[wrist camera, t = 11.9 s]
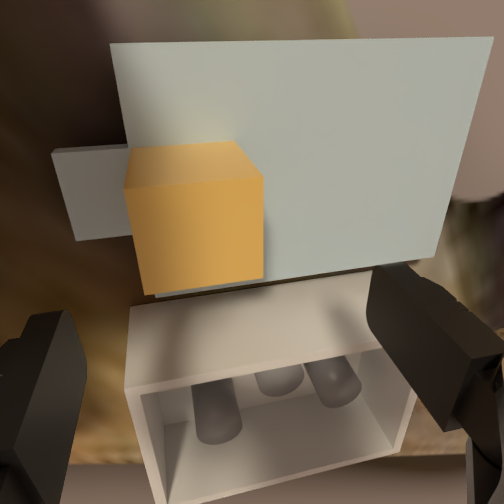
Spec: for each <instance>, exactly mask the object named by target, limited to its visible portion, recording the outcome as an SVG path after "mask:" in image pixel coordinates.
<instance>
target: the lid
mask: <svg viewBox="0 0 504 504" xmlns="http://www.w3.org/2000/svg"><path fill="white" fill-rule="evenodd" d="M493 40H494V37H440V38H439V37H438V38H381V39H325V40H269V41H213V42H157V43H110V49H111V55H112V61H113V66H114V72H115V77H116V83H117V88H118V94H119V99H120V105H121V110H122V116H123V121H124V127H125V132H126V138H127V144H116V145H101V146H87V147H72V148H58V149H54V151H53V152H52V153H51V156H52V160H53V163H54V167H55V170H56V174H57V177H58V181H59V184H60V187H61V191H62V194H63V198H64V201H65V205H66V208H67V212H68V215H69V219H70V222H71V226H72V229H73V233H74V236H75V240H76V241H83V240H92V239H100V238H109V237H118V236H126V235H133V240H134V245H135V250H136V255H137V260H138V265H139V270H140V275H141V280H142V285H143V290H144V295H151V294H155V298H159V297H166V296H173V295H180V294H186V293H193V292H200V291H207V290H213V289H220V288H227V287H234V286H240V285H247V284H254V283H261V282H267V281H274V280H281V279H288V278H294V277H301V276H308V275H315V274H321V273H328V272H335V271H342V270H348V269H355V268H362V267H369V266H375V265H382V264H389V263H396V262H402V261H409V260H416V259H423V258H429V257H434V255H435V252H436V248H437V244H438V241H439V237H440V233H441V230H442V226H443V222H444V219H445V215H446V211H447V208H448V204H449V201H450V197H451V193H452V189H453V186H454V182H455V179H456V175H457V171H458V167H459V164H460V160H461V157H462V153H463V149H464V146H465V142H466V139H467V135H468V131H469V128H470V124H471V120H472V117H473V113H474V109H475V106H476V102H477V98H478V94H479V91H480V87H481V84H482V80H483V76H484V73H485V69H486V66H487V62H488V58H489V54H490V51H491V47H492V44H493Z"/></svg>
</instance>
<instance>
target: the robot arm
mask: <svg viewBox="0 0 504 504" xmlns="http://www.w3.org/2000/svg"><path fill="white" fill-rule="evenodd" d="M366 319H367V323H368V326H369V328H370V330H371V332H372V333H373V335H374V336H375V338H376V339H377V340H378V342H379V343H380V344H381V346H382V347H383V349H384V350H385V351H386V353H387V354H388V356H389V357H390V358H391V360H392V361H393V363H394V364H395V365H396V367H397V368H398V369H399V371H400V372H401V374H402V375H403V376H404V378H405V379H406V381H407V382H408V383H409V385H410V386H411V387H412V389H413V390H414V392H415V393H416V394H417V396H418V397H419V399H420V400H421V401H422V403H423V404H424V406H425V407H426V408H427V410H428V411H429V412H430V414H431V415H432V417H433V418H434V419H435V421H436V422H437V424H438V425H439V426H440V428H441V429H442V431H443V432H447V431H452V430H456V429H460V428H463V429H464V430H465V431H466V432H467V434H468V435H469V437H468V439H467V442H466V468H467V504H504V340H503V339H502V338H500V337H499V336H498V335H497V334H496V333H495V332H494V331H492V330H491V329H490V328H489V327H488V326H487V325H486V324H484V323H483V322H482V321H481V320H480V319H479V318H478V317H476V316H475V315H474V314H473V313H472V312H469V311H468V309H467V308H466V307H465V306H464V305H463V304H462V303H461V302H457V300H456V298H455V297H454V296H453V295H451V294H450V293H449V292H448V291H447V290H446V289H445V288H443V287H442V286H440V285H438V284H436V283H434V282H432V281H430V280H428V279H426V278H424V277H420V276H419V275H418V274H417V273H416V272H415V271H413V270H412V269H411V268H410V267H409V266H408V265H407V264H405V263H403V262H400V263H393V264H386V265H379V266H376V267H375V268H374V269H373V271H372V275H371V281H370V287H369V293H368V299H367V305H366ZM86 379H87V363H86V357H85V354H84V351H83V348H82V345H81V342H80V339H79V336H78V334H77V331H76V328H75V325H74V322H73V319H72V316H71V314H70V312H69V311H68V310H60V311H53V312H46V313H39V314H33V315H31V316H30V318H29V319H28V322H27V324H26V326H25V328H24V330H23V332H22V334H21V336H20V338H16V339H9V340H8V341H7V342H6V343H5V344H4V345H3V346H2V347H1V348H0V504H59V503H60V498H61V494H62V489H63V485H64V480H65V476H66V471H67V467H68V462H69V457H70V453H71V448H72V444H73V439H74V434H75V430H76V425H77V421H78V416H79V412H80V407H81V402H82V398H83V393H84V389H85V384H86Z"/></svg>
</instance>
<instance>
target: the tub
mask: <svg viewBox="0 0 504 504" xmlns="http://www.w3.org/2000/svg"><path fill="white" fill-rule="evenodd" d="M372 271H373V270H370V271H363V272H357V273H350V274H343V275H337V276H330V277H323V278H317V279H310V280H304V281H297V282H290V283H284V284H277V285H270V286H264V287H257V288H250V289H244V290H237V291H230V292H224V293H217V294H210V295H204V296H197V297H190V298H184V299H177V300H170V301H164V302H157V303H150V304H144V305H137V306H130V315H129V328H128V341H127V354H126V367H125V381H124V391H125V395H126V398H127V402H128V406H129V409H130V413H131V417H132V420H133V424H134V427H135V431H136V435H137V438H138V442H139V445H140V449H141V453H142V456H143V460H144V464H145V467H146V471H147V474H148V478H149V482H150V485H151V489H152V492H153V496H154V500H155V503H156V504H200V503H203V502H208V501H212V500H215V499H219V498H223V497H227V496H231V495H234V494H239V493H242V492H246V491H250V490H254V489H258V488H262V487H265V486H270V485H273V484H277V483H281V482H285V481H289V480H293V479H296V478H301V477H304V476H308V475H312V474H316V473H320V472H324V471H328V470H331V469H335V468H339V467H343V466H347V465H350V464H355V463H359V462H362V461H366V460H370V459H374V458H378V457H382V456H386V455H390V454H393V453H397V452H400V449H401V445H402V442H403V439H404V436H405V433H406V430H407V426H408V423H409V420H410V417H411V414H412V411H413V408H414V404H415V401H416V398H417V394H416V393H415V392H414V390H413V389H412V387H411V386H410V385H409V383H408V382H407V381H406V379H405V378H404V376H403V375H402V374H401V372H400V371H399V369H398V368H397V367H396V365H395V364H394V363H393V361H392V360H391V358H390V357H389V356H388V354H387V353H386V351H385V350H384V349H383V347H382V346H381V344H380V343H379V342H378V340H377V339H376V338H375V336H374V335H373V333H372V332H371V330H370V328H369V326H368V323H367V319H366V305H367V299H368V293H369V287H370V281H371V275H372Z"/></svg>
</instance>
